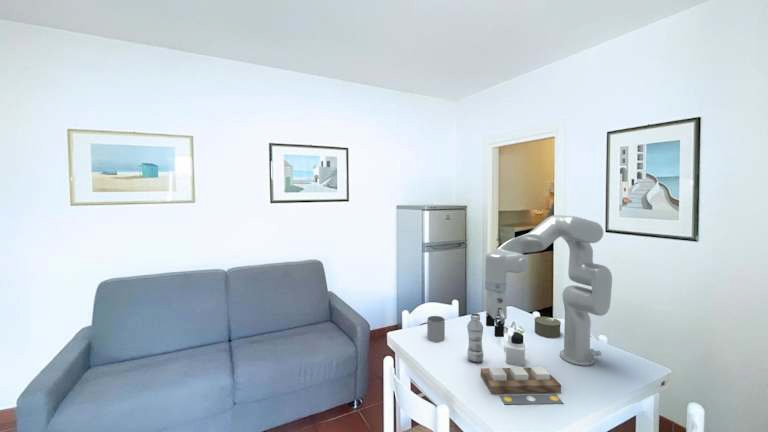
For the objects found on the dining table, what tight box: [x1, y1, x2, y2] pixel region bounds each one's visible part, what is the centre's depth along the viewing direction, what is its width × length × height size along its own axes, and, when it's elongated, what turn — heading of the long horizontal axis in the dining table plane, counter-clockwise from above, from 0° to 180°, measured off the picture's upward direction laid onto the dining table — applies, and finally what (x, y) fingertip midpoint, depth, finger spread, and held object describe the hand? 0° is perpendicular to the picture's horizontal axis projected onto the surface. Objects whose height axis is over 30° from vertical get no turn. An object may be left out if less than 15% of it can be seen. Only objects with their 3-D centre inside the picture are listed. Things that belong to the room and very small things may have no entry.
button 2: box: [530, 366, 551, 380], centre depth 120 cm, size 5×5×3 cm
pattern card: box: [498, 393, 564, 406], centre depth 110 cm, size 20×5×1 cm, turn 91°
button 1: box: [489, 367, 507, 381], centre depth 119 cm, size 5×5×3 cm
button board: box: [480, 367, 562, 395], centre depth 120 cm, size 25×12×3 cm, turn 91°
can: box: [534, 316, 562, 339], centre depth 164 cm, size 12×12×7 cm
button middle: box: [509, 367, 528, 380], centre depth 119 cm, size 5×5×3 cm
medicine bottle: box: [505, 331, 526, 367], centre depth 136 cm, size 7×7×12 cm
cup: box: [426, 315, 446, 343], centre depth 159 cm, size 8×8×10 cm
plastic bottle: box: [466, 312, 484, 363], centre depth 137 cm, size 6×7×20 cm
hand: (494, 331), depth 120 cm, fingers open, 9 cm apart
